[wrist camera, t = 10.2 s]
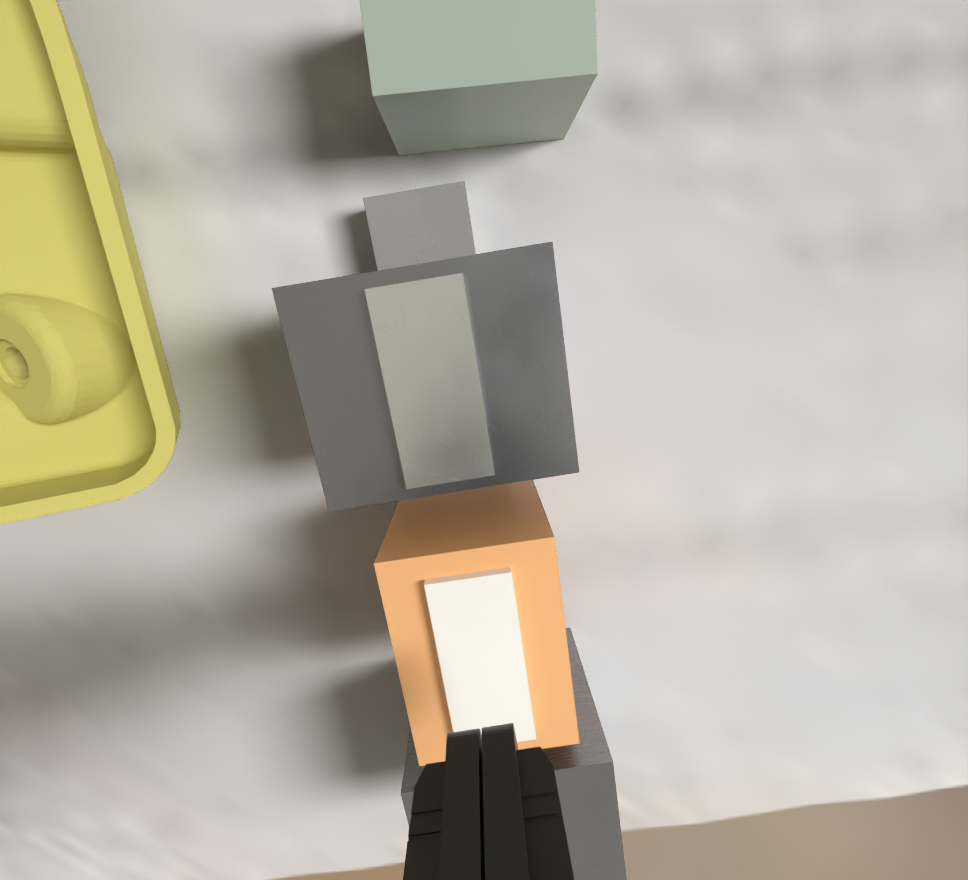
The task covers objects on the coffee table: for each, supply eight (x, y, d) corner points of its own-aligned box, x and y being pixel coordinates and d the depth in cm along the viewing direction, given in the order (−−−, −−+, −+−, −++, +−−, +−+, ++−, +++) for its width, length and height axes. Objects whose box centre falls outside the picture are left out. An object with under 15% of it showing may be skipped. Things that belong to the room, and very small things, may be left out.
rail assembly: (325, 215, 18) (231, 150, 11) (511, 184, 18) (538, 98, 11) (447, 770, 24) (438, 954, 17) (586, 749, 24) (633, 926, 17)
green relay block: (382, 27, 17) (347, -90, 12) (556, 10, 17) (590, -114, 12) (399, 156, 18) (372, 96, 13) (563, 139, 18) (597, 74, 13)
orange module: (403, 488, 19) (371, 569, 13) (529, 470, 19) (556, 541, 13) (433, 641, 21) (418, 775, 15) (549, 624, 21) (581, 751, 15)
